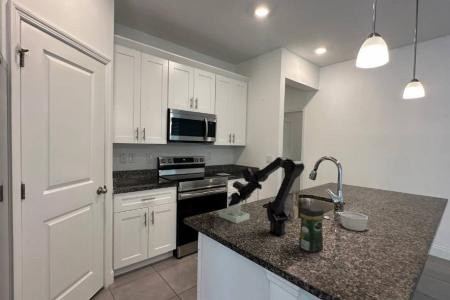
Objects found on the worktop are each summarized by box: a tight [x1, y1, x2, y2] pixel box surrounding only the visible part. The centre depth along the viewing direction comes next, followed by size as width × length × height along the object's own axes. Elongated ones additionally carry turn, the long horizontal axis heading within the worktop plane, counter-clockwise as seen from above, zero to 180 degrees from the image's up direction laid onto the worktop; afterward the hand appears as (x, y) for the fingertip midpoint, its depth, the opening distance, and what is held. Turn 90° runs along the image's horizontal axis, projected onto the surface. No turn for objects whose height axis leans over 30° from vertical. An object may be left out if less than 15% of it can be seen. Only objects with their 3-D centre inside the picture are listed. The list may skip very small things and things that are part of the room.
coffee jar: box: [298, 204, 325, 253], centre depth 92 cm, size 10×8×19 cm
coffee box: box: [284, 190, 300, 222], centre depth 130 cm, size 9×6×16 cm
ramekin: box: [340, 211, 369, 232], centre depth 118 cm, size 13×13×7 cm
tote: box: [218, 209, 250, 224], centre depth 128 cm, size 15×11×3 cm
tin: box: [226, 195, 242, 218], centre depth 128 cm, size 6×6×12 cm
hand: (232, 203), depth 129 cm, fingers open, 9 cm apart
